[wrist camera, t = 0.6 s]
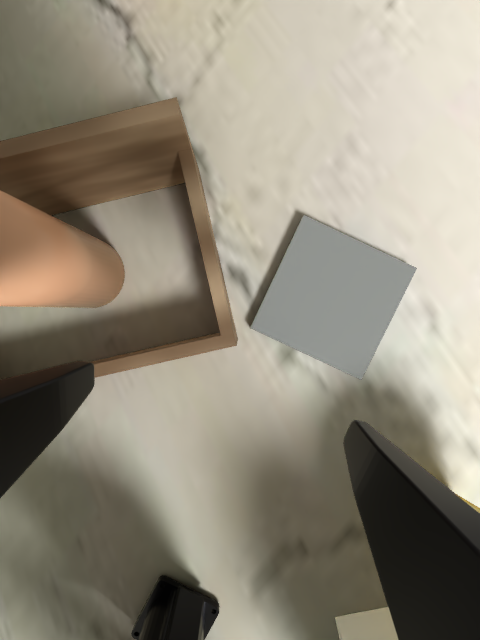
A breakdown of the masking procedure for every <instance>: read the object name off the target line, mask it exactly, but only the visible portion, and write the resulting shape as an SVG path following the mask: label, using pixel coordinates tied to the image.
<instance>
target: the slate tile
mask: <svg viewBox="0 0 480 640" xmlns="http://www.w3.org/2000/svg"><path fill="white" fill-rule="evenodd" d="M416 269H417V268H416V267H413V266H411V265H409V264H407V263H405V262H403V261H401V260H399V259H397V258H394V257H392V256H390V255H388V254H386V253H384V252H382V251H380V250H377V249H375V248H373V247H371V246H369V245H367V244H365V243H363V242H361V241H358V240H356V239H354V238H352V237H350V236H348V235H346V234H344V233H341V232H339V231H337V230H335V229H333V228H331V227H329V226H327V225H325V224H322V223H320V222H318V221H316V220H314V219H312V218H310V217H308V216H305V215H303V217H302V218H301V221H300V223H299V225H298V227H297V229H296V231H295V233H294V235H293V237H292V240H291V242H290V244H289V246H288V248H287V250H286V252H285V254H284V257H283V259H282V261H281V263H280V265H279V267H278V269H277V271H276V274H275V276H274V278H273V280H272V282H271V284H270V286H269V288H268V290H267V293H266V295H265V297H264V299H263V301H262V303H261V305H260V307H259V310H258V312H257V314H256V316H255V318H254V320H253V322H252V324H251V327H250V328H251V329H253V330H256V331H258V332H260V333H262V334H264V335H266V336H268V337H270V338H273V339H275V340H277V341H279V342H281V343H283V344H285V345H288V346H290V347H292V348H294V349H296V350H298V351H300V352H302V353H305V354H307V355H309V356H311V357H313V358H315V359H317V360H320V361H322V362H324V363H326V364H328V365H330V366H332V367H334V368H337V369H339V370H341V371H343V372H345V373H347V374H349V375H351V376H354V377H356V378H358V379H360V380H362V378H363V376H364V374H365V372H366V370H367V368H368V366H369V364H370V362H371V360H372V358H373V356H374V354H375V352H376V349H377V347H378V345H379V343H380V341H381V339H382V337H383V335H384V333H385V331H386V329H387V327H388V325H389V323H390V321H391V319H392V317H393V315H394V313H395V311H396V309H397V307H398V305H399V303H400V301H401V299H402V297H403V295H404V293H405V291H406V289H407V287H408V285H409V283H410V281H411V279H412V277H413V275H414V273H415V271H416Z"/></svg>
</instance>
